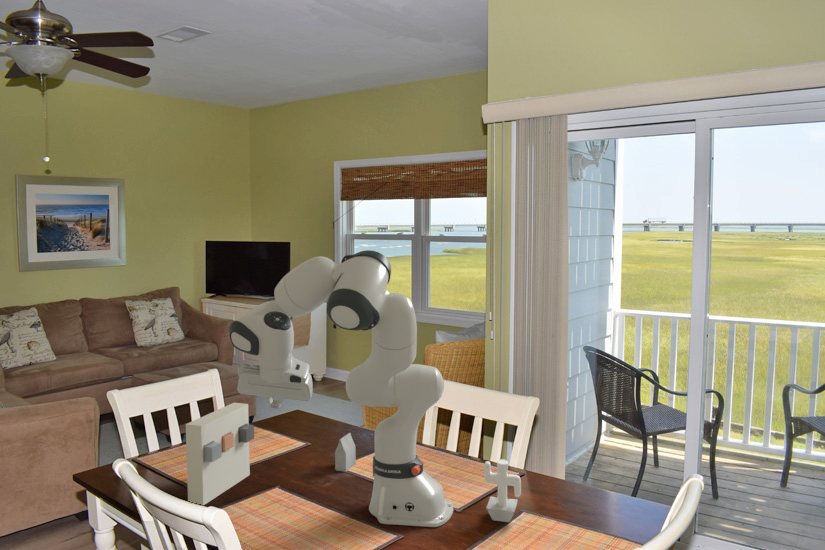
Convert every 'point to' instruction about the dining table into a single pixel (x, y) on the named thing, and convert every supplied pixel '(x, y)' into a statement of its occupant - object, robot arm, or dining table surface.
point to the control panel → (233, 463)
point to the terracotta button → (227, 441)
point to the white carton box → (345, 454)
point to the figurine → (502, 491)
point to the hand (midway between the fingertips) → (274, 406)
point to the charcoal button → (246, 433)
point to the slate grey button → (212, 451)
